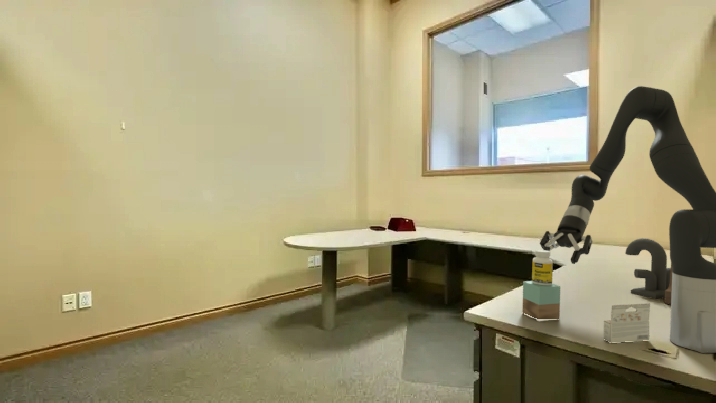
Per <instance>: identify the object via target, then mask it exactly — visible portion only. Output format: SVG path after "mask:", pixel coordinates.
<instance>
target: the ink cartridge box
mask: <svg viewBox="0 0 716 403" xmlns="http://www.w3.org/2000/svg"><path fill="white" fill-rule="evenodd" d="M629 308H633V309H635V311H626V310H628V309H629ZM650 309H651V303H636V304H635V303H633V304H617V305H616V304H615V305H611V312H610V320H603V340H604V339H605V340H607V341H609V342H625V341H643V340H649V341H650V311H651V310H650Z"/></svg>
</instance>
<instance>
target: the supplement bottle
mask: <svg viewBox="0 0 716 403" xmlns="http://www.w3.org/2000/svg"><path fill="white" fill-rule="evenodd" d="M534 253H535V254H534V255H535V256H534V257H533V258H532V265H531V266H532V267H531V269H532V270H531V271H532V272H531V281H532V282H533V283H534V284H537V285H544V286H549V285H552V284H553V272H554V270H553V266H554V263H553V262H554V261H553V259H552V258H550V257H551V250H550V251H546V250H543V249H535V251H534Z"/></svg>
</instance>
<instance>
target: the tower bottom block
mask: <svg viewBox="0 0 716 403" xmlns="http://www.w3.org/2000/svg"><path fill="white" fill-rule="evenodd" d="M560 307H561V302H560V303H558V304H544V305H538V304H536V303H534V302H531V301H529V300H527V299H524V298H523V297H522V311H521V312H523V313H525V314H528V315H530V316H532V317H534V318H537V319H559V320H560V312H561V310H560Z"/></svg>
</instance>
